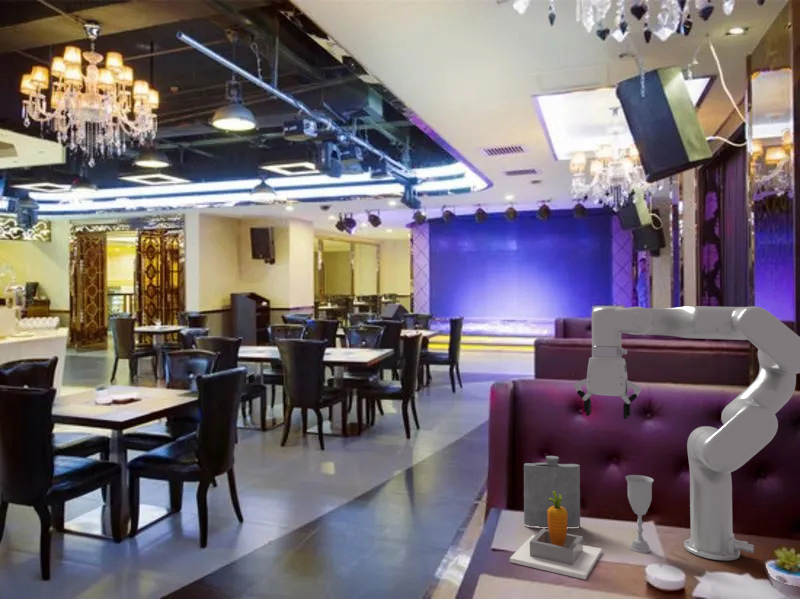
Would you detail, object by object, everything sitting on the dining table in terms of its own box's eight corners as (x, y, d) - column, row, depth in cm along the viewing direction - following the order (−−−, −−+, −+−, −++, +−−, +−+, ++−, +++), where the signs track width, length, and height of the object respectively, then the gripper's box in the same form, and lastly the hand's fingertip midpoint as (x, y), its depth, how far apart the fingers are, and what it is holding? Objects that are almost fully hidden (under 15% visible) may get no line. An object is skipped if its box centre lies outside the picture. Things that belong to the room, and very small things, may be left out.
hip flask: (578, 524, 165) (577, 455, 166) (582, 529, 161) (581, 458, 162) (523, 523, 166) (523, 454, 166) (525, 528, 162) (525, 457, 162)
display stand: (601, 552, 145) (601, 534, 145) (585, 579, 129) (585, 559, 130) (532, 538, 154) (532, 521, 154) (509, 562, 139) (509, 543, 139)
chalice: (657, 555, 143) (656, 483, 144) (628, 553, 145) (628, 481, 146) (650, 544, 150) (650, 475, 151) (623, 542, 152) (623, 474, 153)
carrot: (568, 558, 139) (567, 496, 139) (547, 556, 140) (546, 494, 140) (568, 550, 143) (567, 490, 144) (548, 548, 145) (547, 488, 145)
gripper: (642, 353, 153) (643, 417, 152) (577, 351, 162) (577, 412, 161) (638, 354, 146) (639, 421, 145) (570, 352, 155) (570, 415, 154)
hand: (607, 416), depth 153 cm, fingers open, 9 cm apart
